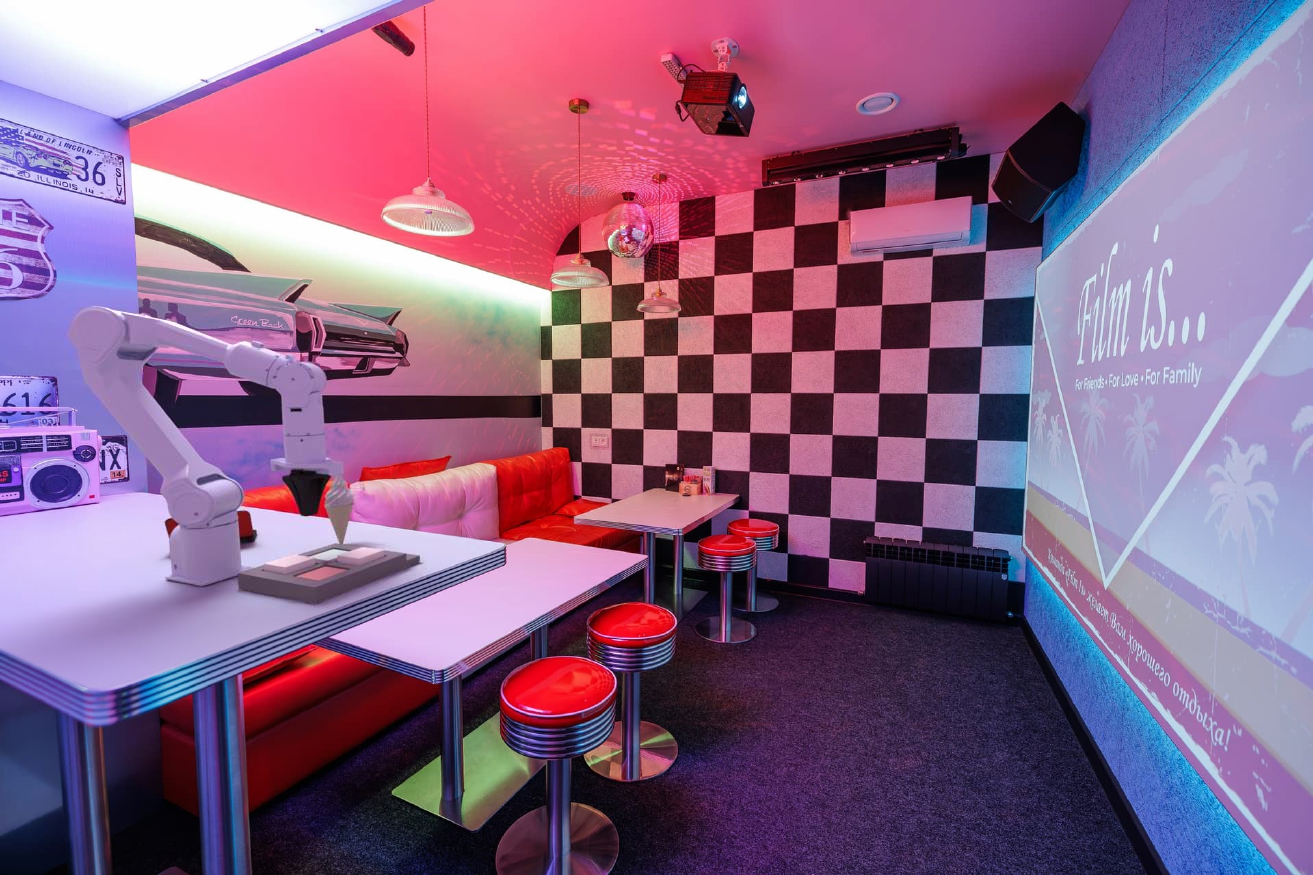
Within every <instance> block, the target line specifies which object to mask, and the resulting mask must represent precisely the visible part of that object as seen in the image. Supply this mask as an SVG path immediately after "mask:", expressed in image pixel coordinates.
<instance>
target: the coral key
mask: <svg viewBox="0 0 1313 875" xmlns="http://www.w3.org/2000/svg"><path fill="white" fill-rule="evenodd" d="M344 571H346V570H344V569H338V568H332V567H326V566H325V567H322V568H319V569H316V570H313V571H310V572H307V573H304V574H302V575H299V576H296V577H300V578H305V579H311V580H316V581H319V580H322V579H324V578H327V577H330V576H333V575H335V574H338V573H341V572H344Z"/></svg>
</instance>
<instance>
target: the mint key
mask: <svg viewBox="0 0 1313 875" xmlns="http://www.w3.org/2000/svg"><path fill="white" fill-rule="evenodd" d="M346 552H349V551H342V550H336V549H332V550H329V551H326V552H323V553H319V554H316V555H313V556H310V557H313V558H315V559H319V560H326V561H328V560H331V559H334V558H337V555H340V554H343V553H346Z"/></svg>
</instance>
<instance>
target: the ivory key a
mask: <svg viewBox="0 0 1313 875" xmlns="http://www.w3.org/2000/svg"><path fill="white" fill-rule="evenodd" d="M263 565H264V571H267V572H272V573H278V574H283V575H286V574H289V573H292V572H295V571H298V570H301V569H304V568H307V567H310V566H313V565H315V558H313V557H306V556H300V555H298V554H292V555H288V556H285V557H281V558H278V559H274V560H271V561H268V562H265V563H263Z"/></svg>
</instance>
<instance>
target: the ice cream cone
mask: <svg viewBox="0 0 1313 875" xmlns="http://www.w3.org/2000/svg"><path fill="white" fill-rule="evenodd" d="M347 483H348V482H347V481H346V480H345V479H344V478H343V477H342V474H340V475H334V479H333V480H332V482H330V485H331V486H330V489H329V490H328V491H327V492H326V494H325V495H324V498H325V501H324V505H323V506H324V507H325V511H326V513H327V515H328V516H327V517H328V519H329V520H330V523H331V526H332V528H333V531H334V533H335V536H336V538H337V540H338V544H344V540H345V538H346V534H347V530H348V526H349V522H350V518H351V515H352V514H351V513H352V510H353V505H354V503H355V498H354V496H355V495H354V494H355V493H354V492H353V491H352V490H351V489H350V488H349V487H348V485H347Z"/></svg>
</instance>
